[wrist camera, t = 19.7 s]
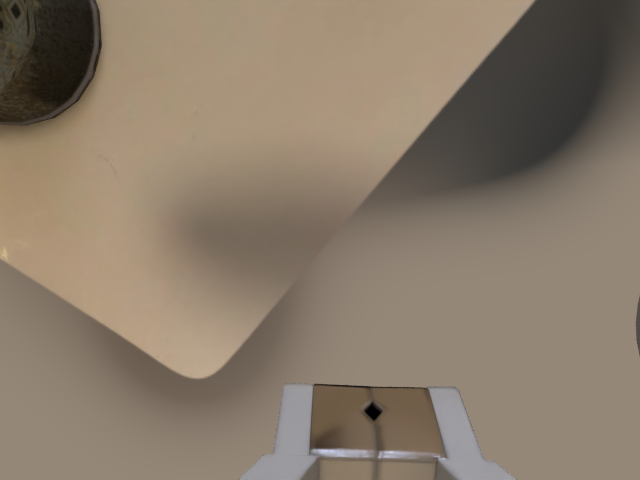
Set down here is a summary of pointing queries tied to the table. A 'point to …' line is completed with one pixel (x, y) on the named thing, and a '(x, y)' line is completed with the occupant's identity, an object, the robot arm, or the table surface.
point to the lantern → (45, 56)
